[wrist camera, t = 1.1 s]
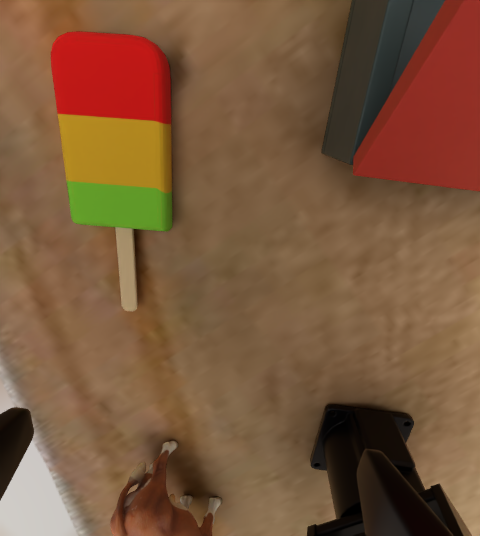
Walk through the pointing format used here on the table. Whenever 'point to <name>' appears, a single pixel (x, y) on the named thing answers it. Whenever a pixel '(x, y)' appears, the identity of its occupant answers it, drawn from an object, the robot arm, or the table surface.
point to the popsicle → (115, 137)
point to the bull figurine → (157, 505)
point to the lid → (432, 109)
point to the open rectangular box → (372, 66)
